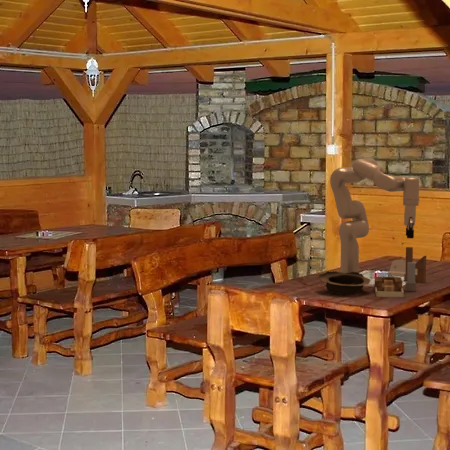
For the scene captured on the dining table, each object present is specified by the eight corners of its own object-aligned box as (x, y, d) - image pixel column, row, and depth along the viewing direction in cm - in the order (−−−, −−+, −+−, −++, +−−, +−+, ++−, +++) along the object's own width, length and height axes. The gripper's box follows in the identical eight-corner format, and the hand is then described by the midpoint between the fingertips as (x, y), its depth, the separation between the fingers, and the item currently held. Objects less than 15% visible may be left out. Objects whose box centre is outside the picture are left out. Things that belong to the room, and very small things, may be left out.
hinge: (387, 275, 455) (390, 257, 457) (390, 277, 459) (392, 259, 461) (417, 278, 447) (419, 259, 448) (419, 279, 451) (422, 261, 452)
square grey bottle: (406, 291, 408) (406, 263, 406) (405, 290, 411) (405, 262, 410) (416, 291, 407) (416, 263, 406) (415, 290, 411) (416, 262, 409)
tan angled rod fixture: (423, 283, 431) (424, 248, 429) (403, 281, 437) (404, 247, 435) (425, 282, 434) (426, 248, 432) (406, 280, 440) (407, 246, 438)
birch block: (384, 293, 400) (384, 295, 396) (384, 285, 399) (384, 286, 395) (392, 293, 399) (393, 295, 395) (393, 285, 399) (393, 287, 395)
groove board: (375, 292, 406) (375, 281, 405) (374, 287, 419) (374, 276, 418) (402, 292, 404) (402, 281, 403) (400, 288, 417) (400, 277, 416)
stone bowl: (330, 285, 423) (331, 267, 422) (376, 293, 411) (378, 275, 410) (310, 292, 402) (311, 274, 401) (358, 301, 390) (360, 282, 388)
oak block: (384, 293, 400) (384, 281, 399) (383, 292, 404) (384, 279, 403) (392, 293, 399) (392, 281, 398) (392, 292, 403) (392, 280, 402)
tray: (375, 296, 394) (376, 291, 394) (375, 292, 406) (375, 287, 405) (403, 297, 392) (403, 292, 392) (402, 292, 404) (402, 287, 404)
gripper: (402, 200, 415) (401, 234, 417) (403, 203, 399) (402, 239, 400) (417, 201, 414) (416, 235, 416) (419, 204, 397) (418, 239, 399)
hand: (409, 237), depth 408 cm, fingers open, 9 cm apart
